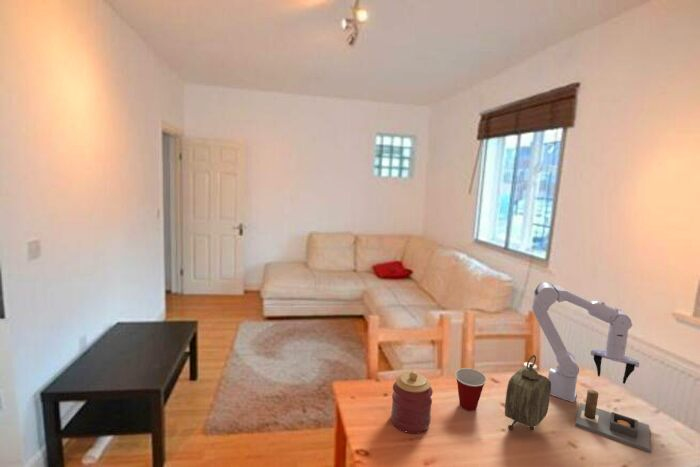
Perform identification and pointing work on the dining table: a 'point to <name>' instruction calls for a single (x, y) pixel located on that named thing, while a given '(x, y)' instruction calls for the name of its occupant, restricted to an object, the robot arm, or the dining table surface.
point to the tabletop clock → (527, 397)
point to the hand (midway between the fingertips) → (611, 378)
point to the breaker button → (623, 423)
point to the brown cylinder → (591, 404)
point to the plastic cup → (469, 387)
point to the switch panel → (615, 427)
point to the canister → (411, 402)
